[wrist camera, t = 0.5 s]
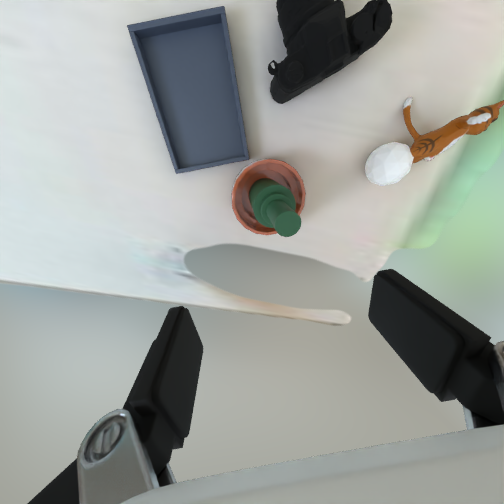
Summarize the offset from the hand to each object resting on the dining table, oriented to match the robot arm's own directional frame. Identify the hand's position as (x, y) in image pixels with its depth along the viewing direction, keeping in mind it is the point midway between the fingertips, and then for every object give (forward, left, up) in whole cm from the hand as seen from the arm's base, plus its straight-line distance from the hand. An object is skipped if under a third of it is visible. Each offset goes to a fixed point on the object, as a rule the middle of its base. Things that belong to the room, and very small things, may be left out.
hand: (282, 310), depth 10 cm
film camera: (-19, +12, -30) cm, 38 cm away
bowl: (0, +3, -30) cm, 30 cm away
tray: (-15, -5, -30) cm, 34 cm away
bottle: (0, +3, -29) cm, 29 cm away
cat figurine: (-5, +29, -30) cm, 42 cm away
